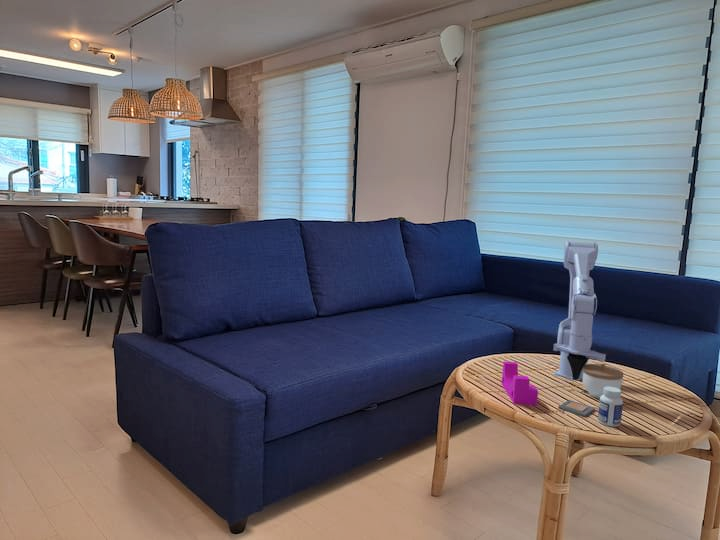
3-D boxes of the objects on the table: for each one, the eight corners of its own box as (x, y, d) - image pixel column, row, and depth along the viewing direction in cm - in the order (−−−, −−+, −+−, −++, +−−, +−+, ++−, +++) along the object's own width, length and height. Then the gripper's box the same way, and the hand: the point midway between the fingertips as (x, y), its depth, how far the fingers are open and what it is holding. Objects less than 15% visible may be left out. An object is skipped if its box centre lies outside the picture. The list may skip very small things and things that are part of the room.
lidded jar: (571, 390, 151) (575, 359, 149) (599, 387, 154) (602, 357, 153) (600, 404, 141) (604, 371, 139) (629, 400, 144) (633, 368, 143)
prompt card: (568, 402, 141) (569, 399, 141) (594, 410, 137) (594, 407, 136) (558, 408, 136) (558, 405, 136) (584, 417, 132) (584, 414, 131)
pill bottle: (618, 420, 130) (622, 387, 129) (622, 428, 126) (626, 394, 124) (596, 416, 132) (599, 384, 131) (598, 424, 127) (602, 390, 126)
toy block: (536, 406, 138) (539, 380, 137) (513, 405, 138) (515, 378, 137) (522, 386, 153) (524, 362, 152) (501, 385, 153) (503, 361, 152)
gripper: (550, 331, 152) (546, 375, 154) (601, 342, 142) (595, 389, 144) (560, 328, 157) (556, 370, 159) (610, 338, 147) (604, 383, 149)
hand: (575, 379), depth 152 cm, fingers closed
